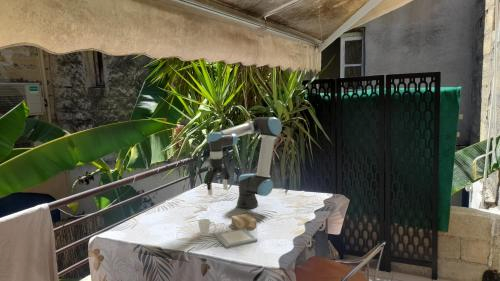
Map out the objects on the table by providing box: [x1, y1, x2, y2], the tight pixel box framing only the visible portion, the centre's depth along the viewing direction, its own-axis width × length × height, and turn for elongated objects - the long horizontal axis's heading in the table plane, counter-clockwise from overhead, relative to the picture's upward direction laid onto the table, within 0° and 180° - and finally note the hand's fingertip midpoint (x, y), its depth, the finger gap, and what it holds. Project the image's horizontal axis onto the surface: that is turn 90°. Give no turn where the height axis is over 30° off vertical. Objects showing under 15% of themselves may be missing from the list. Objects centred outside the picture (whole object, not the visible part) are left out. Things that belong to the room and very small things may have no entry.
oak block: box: [230, 213, 257, 230], centre depth 215 cm, size 11×13×5 cm
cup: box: [197, 218, 217, 236], centre depth 203 cm, size 7×10×8 cm
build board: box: [214, 228, 258, 249], centre depth 195 cm, size 18×18×1 cm
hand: (218, 192), depth 215 cm, fingers open, 13 cm apart
